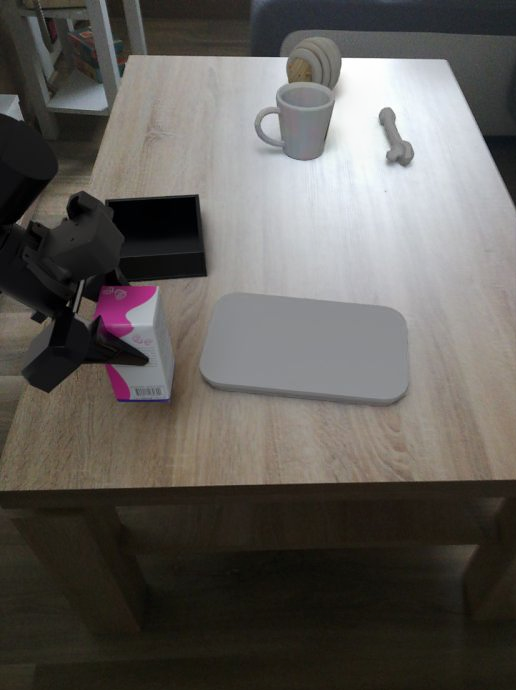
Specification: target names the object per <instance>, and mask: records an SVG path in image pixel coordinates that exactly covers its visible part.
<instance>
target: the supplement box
mask: <svg viewBox="0 0 516 690" xmlns="http://www.w3.org/2000/svg"><path fill="white" fill-rule="evenodd" d="M99 315H101V316H102V319H103V321H104V324H105V327H106V329H107V331H108V332H110V333H112V334H113V335H115V336H117V337H118V338H120V339H121V340H123V341H125V342H126V343H128V344H130V345H131V346H133V347H134V348H136V349H138V350H139V351H141V352H142V353H143V354H144V355H146V356H147V357H148V358H149V362H148V363H147V364H146V365H144V366H130V365H113V364H103V365H104V368H105V371H106V373H107V376H108V379H109V381H110V384H111V388H112V390H113V393H114V396H115V399H116V402H118V403H171V398H172V391H173V389H172V388H173V382H174V375H175V368H176V360H175V356H174V352H173V346H172V341H171V336H170V331H169V327H168V322H167V316H166V312H165V307H164V302H163V298H162V292H161V288H160V286H159V285H131V286H102V288H101V291H100V295H99V300H98V303H96V306H95V311H94V315H93V316H92V317H93V318H92V321H93V320H95V319H96V318H97V317H98V316H99Z"/></svg>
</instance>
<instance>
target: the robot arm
mask: <svg viewBox="0 0 516 690" xmlns="http://www.w3.org/2000/svg"><path fill="white" fill-rule="evenodd" d="M58 172H59V161H58V158H57V155H56V153H55V151H54V149H53V148H52V146H51V145H50V144H49V142H48V141H47V139H45V137H44V136H43V135H42V134H41V133H40V132H39V131H38V130H37V129H36V128H34V127H33V126H32V125H30V124H29V123H28V122H26V121H24V120H23V119H20V120H18V119H17V118H14V117H12V116H11V115H8V114H5V113H1V112H0V295H1V294H4V295H5V296H7V297H9V298H11V299H13V300H14V301H17V302H18V303H20V304H22V305H24V306H26V307H27V308H30V309H31V310H32V311H31V315H30V317H29V319H30V320H32V321H33V322H35V323H38V324H39V325H42V324H43V323H44V322H45V321H46V320H47V319H48V318H49V319H51V320H50V322H49V323H48V324H47V326H45V327H44V328H43V329H42V330H41V332H39V333H38V334H37V335H36V336H35V337H34V338H33V339H32V340H31V341H30V342H29V345H28V348H27V351H26V355H25V358H24V360H23V364H22V367H21V370H20V373H21V376H22V378H23V379H24V381H25V383H27V384H28V385H29V386H30V387H33V388H35V389H38V390H40V391H42V392H44V393H47V394H49V393H51V392H52V391H53V390H54V389H56V388H57V387H59V385H60V384H61V383H63V382H64V381H65V380H66V379H67V378H68V377H70V376H71V375H72V374H73V373H74V372H75V371H77V370H78V369H79V368H80V367H82V365H104V364H113V365H130V366H144V365H146V364H147V363H148V362H149V358H148V357H147V356H146V355H144V354H143V353H142V352H141V351H139V350H138V349H136V348H134V347H133V346H131V345H130V344H128V343H126V342H125V341H123V340H121V339H120V338H118V337H117V336H115V335H113V334H112V333H110V332H108V331H107V329H106V327H105V324H104V321H103V319H102V316H101V315H99V316H98V317H97V318H96V319H95V320H93V319H92V320H91V321H90V320H88V319H86V318H84V317H83V316H82V315H79V311H80V308H81V304H82V300H83V299H86V300H89V301H91V302H94V303H95V304H97V303H98V300H99V295H100V291H101V288H102V286H132V284H131V282H128V281H127V279H126V278H125V277H124V275H123V274H122V272H121V271H120V267H119V261H120V255H119V253H120V249H121V244H122V243H124V236H123V235H122V234H121V233H120V231H119V230H118V229H117V228H116V226H117V225H116V224H115V223H114V222H112V219H113V215H114V210H113V209H112V208H111V207H106V206H105V203H104V202H103V201H101V200H100V199H99V198H97V197H95V196H93V195H91V194H90V193H88V192H86V191H85V190H80V191H78V192H75V193H73V194H71V195H70V196H69V197H68V201H67V204H66V207H65V211H66V214H67V216H65V217H63V218H61V221H60V224H59V225H57V226H55V227H53V228H49V227H47V226H46V225H44V224H42V223H41V222H40V221H33V220H32V219H29V220H28V222H27V223H26V224H25V225H24V226H21V224H18V222H19V221H20V220H21V219H22V218H23V216H24V215H25V214H26V213H27V211H28V210H29V209H30V208H31V206H32V205H33V204H34V203H35V202H36V200H37V199H38V198H39V197H40V195H42V193H43V191H44V190H45V189H47V187H48V185H49V184H50V183H51V182H52V180H53V179H54V178H55V177H56V176H57V175H58Z"/></svg>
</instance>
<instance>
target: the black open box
mask: <svg viewBox="0 0 516 690" xmlns="http://www.w3.org/2000/svg"><path fill="white" fill-rule="evenodd" d="M200 200H201V199H200V194H199V193H195V194H194V193H193V194H177V195H176V194H175V195H159V196H140V197H124V198H105V199H104V205H105V206H106V207H111V208H112V209H113V210H114V215H113V219H112V222H114V223H115V224H116V225H117V226H116V228H117V229H118V230H119V231H120V233H121V234H122V235H123V236H124V243H122V244H121V249H120V253H119V255H120V261H119V267H120V271H121V272H122V274H123V275H124V277H125V278H126V279H127V281H128V282H129V283H137V282H138V283H139V282H149V281H163V280H164V281H165V280H176V279H177V280H178V279H191V278H203V277H208V271H207V269H208V268H207V260H206V249H205V239H204V231H203V220H202V219H203V218H202V210H201V202H200Z"/></svg>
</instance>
